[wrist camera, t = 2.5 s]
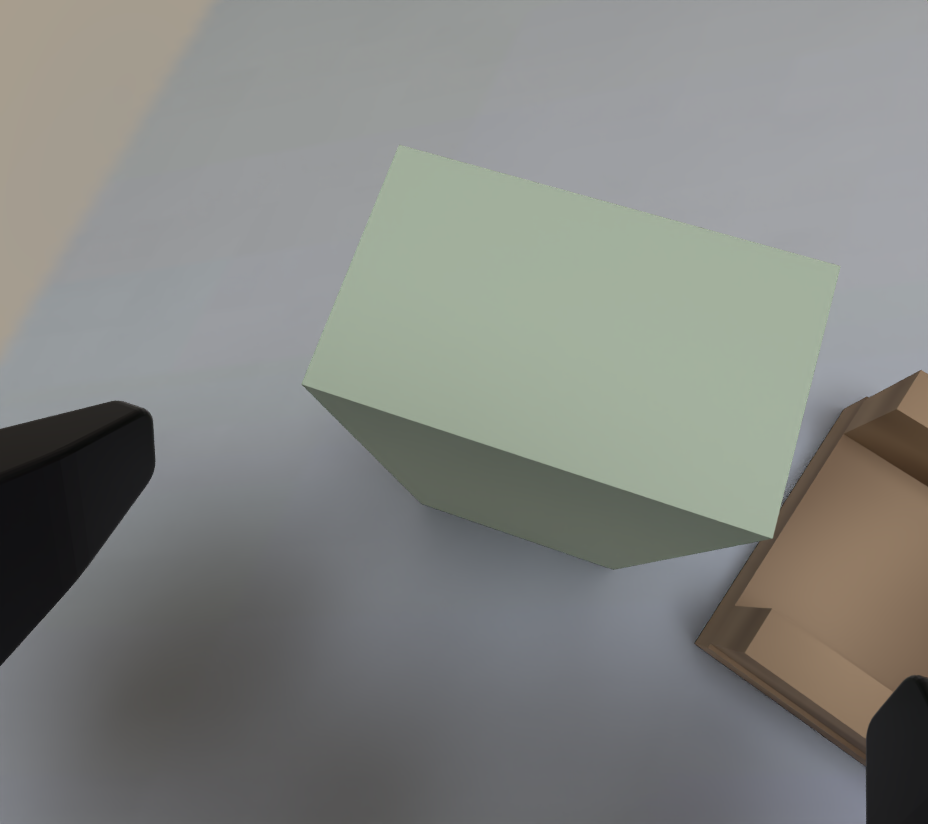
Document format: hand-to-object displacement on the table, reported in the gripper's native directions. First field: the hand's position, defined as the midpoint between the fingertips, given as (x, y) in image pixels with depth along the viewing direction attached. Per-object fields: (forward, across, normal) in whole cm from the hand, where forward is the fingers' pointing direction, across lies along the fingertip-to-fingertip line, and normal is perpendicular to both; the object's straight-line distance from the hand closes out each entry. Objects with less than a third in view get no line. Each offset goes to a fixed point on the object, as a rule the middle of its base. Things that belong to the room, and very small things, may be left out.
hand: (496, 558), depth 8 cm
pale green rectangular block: (+9, 0, +5) cm, 10 cm away
